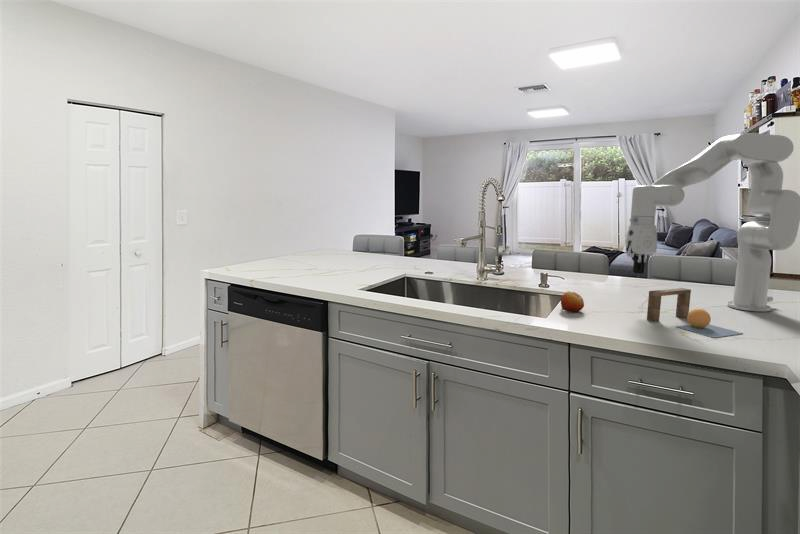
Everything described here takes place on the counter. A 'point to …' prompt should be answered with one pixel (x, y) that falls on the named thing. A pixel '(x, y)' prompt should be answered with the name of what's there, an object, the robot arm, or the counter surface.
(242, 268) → the counter surface
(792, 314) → the counter surface
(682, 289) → the bridge
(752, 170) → the robot arm
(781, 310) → the counter surface
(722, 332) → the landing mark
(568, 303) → the fruit
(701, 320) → the ball
